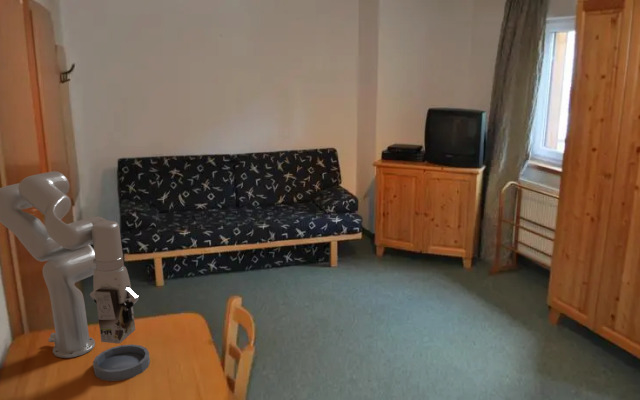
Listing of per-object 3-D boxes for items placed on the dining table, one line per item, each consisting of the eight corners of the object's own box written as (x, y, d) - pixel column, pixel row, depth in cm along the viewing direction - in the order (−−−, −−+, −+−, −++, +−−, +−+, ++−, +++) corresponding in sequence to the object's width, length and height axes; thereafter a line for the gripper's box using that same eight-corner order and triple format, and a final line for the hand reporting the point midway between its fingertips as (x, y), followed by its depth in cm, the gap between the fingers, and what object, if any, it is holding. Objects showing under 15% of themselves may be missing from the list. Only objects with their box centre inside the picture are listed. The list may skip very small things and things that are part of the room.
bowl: (83, 376, 167) (81, 367, 166) (115, 350, 182) (114, 342, 181) (129, 383, 163) (128, 374, 162) (159, 356, 177) (158, 347, 177)
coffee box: (120, 344, 164) (114, 292, 161) (100, 342, 166) (93, 291, 162) (136, 329, 173) (130, 280, 169) (117, 328, 174) (111, 279, 171)
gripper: (75, 266, 163) (83, 323, 167) (128, 270, 158) (135, 328, 162) (92, 257, 170) (100, 312, 174) (143, 261, 165) (149, 317, 169)
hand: (117, 319), depth 168 cm, fingers closed on coffee box, 6 cm apart
